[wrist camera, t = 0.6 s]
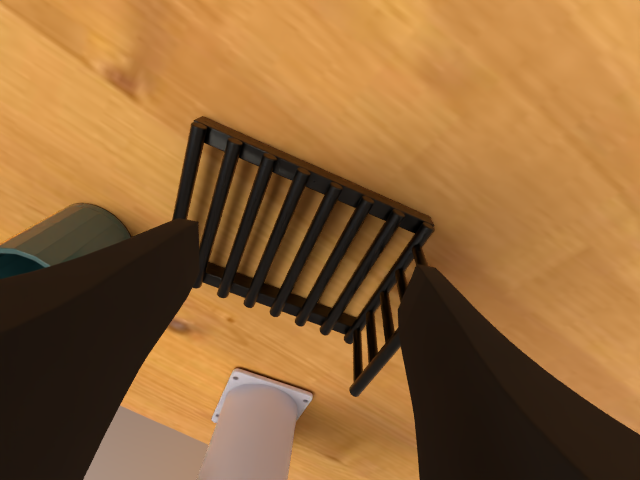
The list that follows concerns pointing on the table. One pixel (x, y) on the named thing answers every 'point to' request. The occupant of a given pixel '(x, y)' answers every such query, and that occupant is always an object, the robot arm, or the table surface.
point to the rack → (282, 298)
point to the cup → (60, 239)
